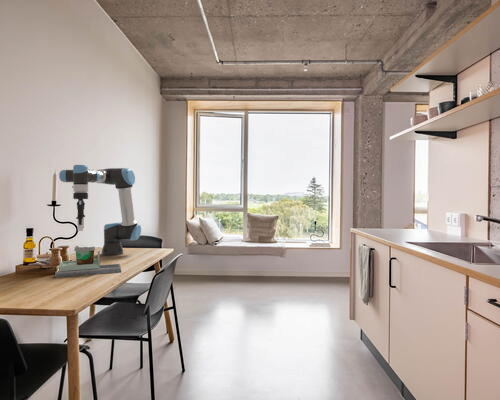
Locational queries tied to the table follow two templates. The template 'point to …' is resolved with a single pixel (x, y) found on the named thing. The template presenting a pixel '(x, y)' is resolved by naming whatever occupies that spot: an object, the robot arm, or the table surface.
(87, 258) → the food container
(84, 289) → the table surface
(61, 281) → the table surface
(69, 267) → the pale green tray
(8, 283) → the table surface
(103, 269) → the grey board
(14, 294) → the table surface
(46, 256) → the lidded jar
